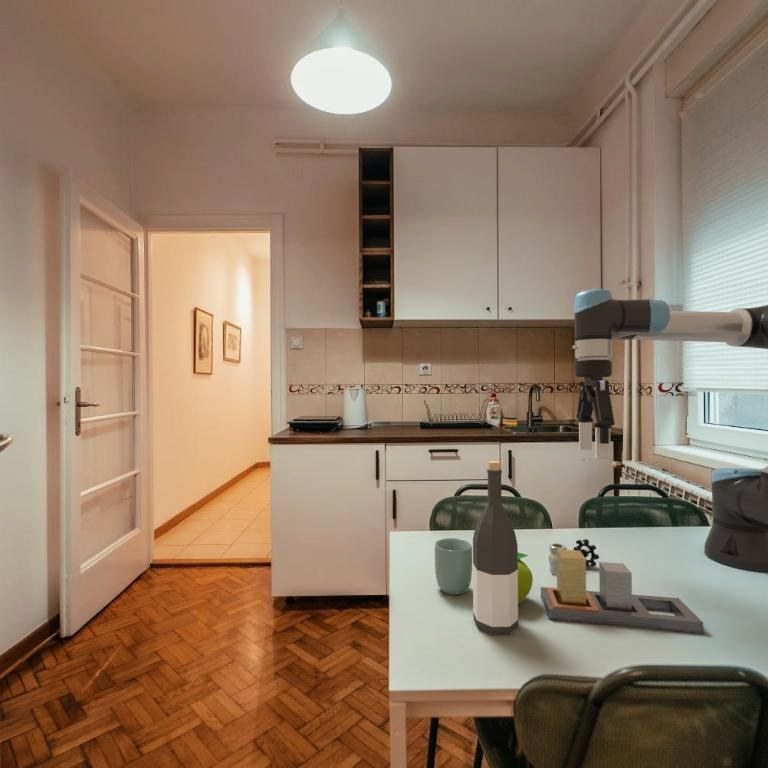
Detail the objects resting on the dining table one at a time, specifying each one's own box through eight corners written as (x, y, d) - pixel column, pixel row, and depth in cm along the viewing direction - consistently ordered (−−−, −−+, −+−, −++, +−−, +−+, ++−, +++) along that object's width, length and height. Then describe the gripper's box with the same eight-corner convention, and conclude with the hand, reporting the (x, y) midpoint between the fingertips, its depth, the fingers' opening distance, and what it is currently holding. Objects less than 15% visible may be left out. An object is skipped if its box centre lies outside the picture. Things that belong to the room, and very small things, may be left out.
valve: (563, 581, 98) (599, 571, 104) (563, 552, 98) (599, 543, 104) (540, 570, 104) (576, 561, 110) (540, 542, 104) (576, 535, 110)
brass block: (580, 605, 87) (580, 550, 87) (586, 617, 83) (585, 559, 83) (557, 603, 88) (556, 549, 88) (561, 614, 84) (561, 557, 84)
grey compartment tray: (678, 608, 86) (678, 596, 86) (703, 633, 77) (703, 620, 77) (540, 596, 91) (540, 585, 91) (548, 619, 82) (548, 607, 82)
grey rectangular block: (623, 609, 86) (623, 563, 86) (631, 621, 81) (631, 572, 81) (599, 607, 86) (599, 561, 87) (606, 618, 82) (606, 571, 82)
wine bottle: (491, 640, 75) (490, 467, 75) (464, 618, 82) (463, 460, 83) (527, 630, 78) (526, 463, 78) (498, 609, 86) (498, 457, 86)
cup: (449, 602, 88) (449, 553, 88) (428, 587, 95) (428, 541, 95) (479, 594, 92) (479, 546, 92) (457, 579, 99) (456, 535, 99)
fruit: (480, 591, 93) (480, 544, 93) (524, 591, 93) (523, 544, 93) (489, 613, 84) (489, 561, 84) (537, 614, 84) (537, 562, 84)
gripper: (563, 362, 111) (563, 446, 111) (590, 356, 86) (591, 462, 86) (594, 362, 110) (595, 446, 109) (631, 355, 85) (632, 464, 85)
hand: (593, 454), depth 98 cm, fingers open, 13 cm apart
